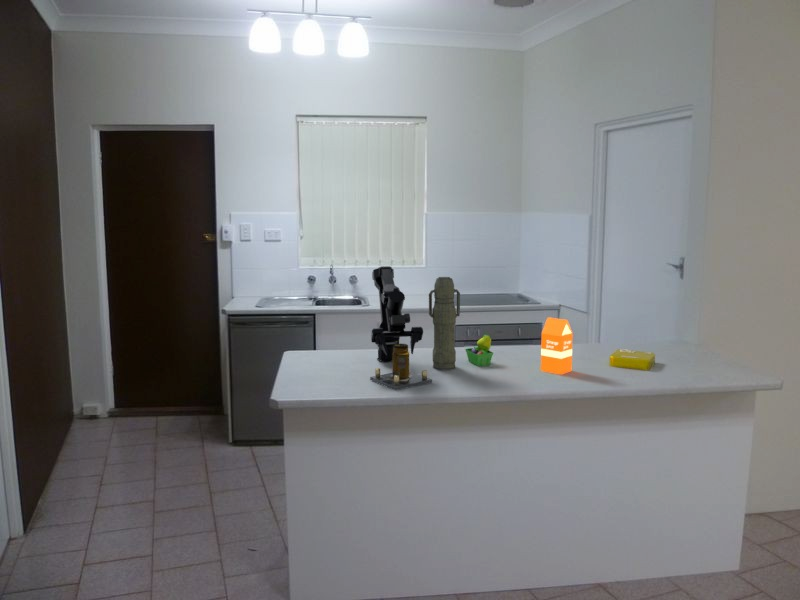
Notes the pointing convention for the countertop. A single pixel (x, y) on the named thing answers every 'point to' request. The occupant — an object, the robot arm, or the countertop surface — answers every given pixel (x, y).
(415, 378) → the chassis plate
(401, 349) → the condiment
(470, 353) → the fruit basket
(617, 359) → the element tile
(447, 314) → the thermos
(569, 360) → the orange juice
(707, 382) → the countertop surface
